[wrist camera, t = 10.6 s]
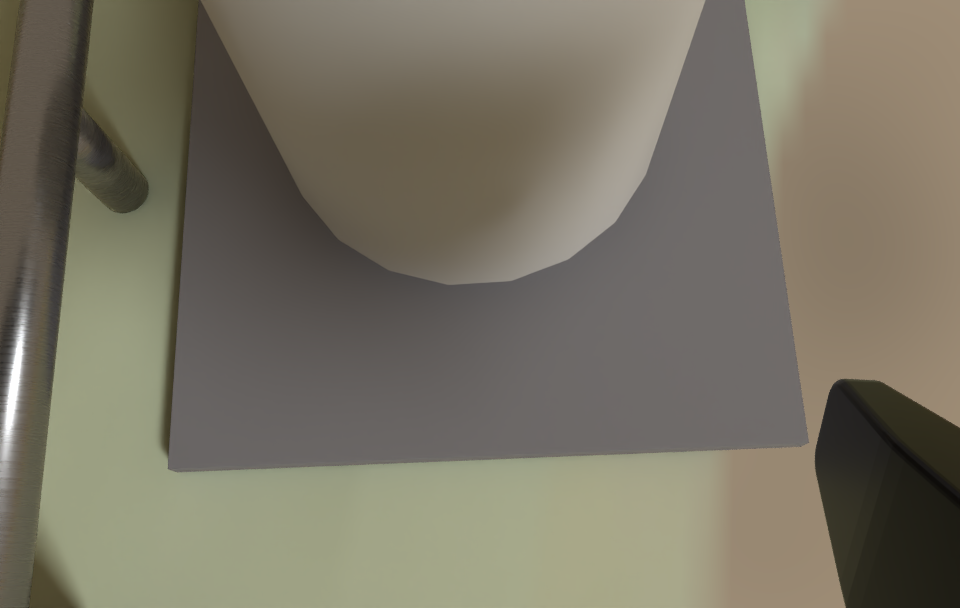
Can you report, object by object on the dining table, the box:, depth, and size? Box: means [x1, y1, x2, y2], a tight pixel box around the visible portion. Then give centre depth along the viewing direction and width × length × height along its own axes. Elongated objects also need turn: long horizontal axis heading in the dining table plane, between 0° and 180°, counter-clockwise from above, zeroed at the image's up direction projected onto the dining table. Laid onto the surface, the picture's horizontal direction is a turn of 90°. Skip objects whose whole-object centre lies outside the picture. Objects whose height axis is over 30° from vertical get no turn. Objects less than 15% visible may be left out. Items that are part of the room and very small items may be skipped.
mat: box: [168, 0, 809, 472], centre depth 19 cm, size 14×12×1 cm
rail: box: [0, 0, 148, 608], centre depth 17 cm, size 20×13×4 cm, turn 2°
